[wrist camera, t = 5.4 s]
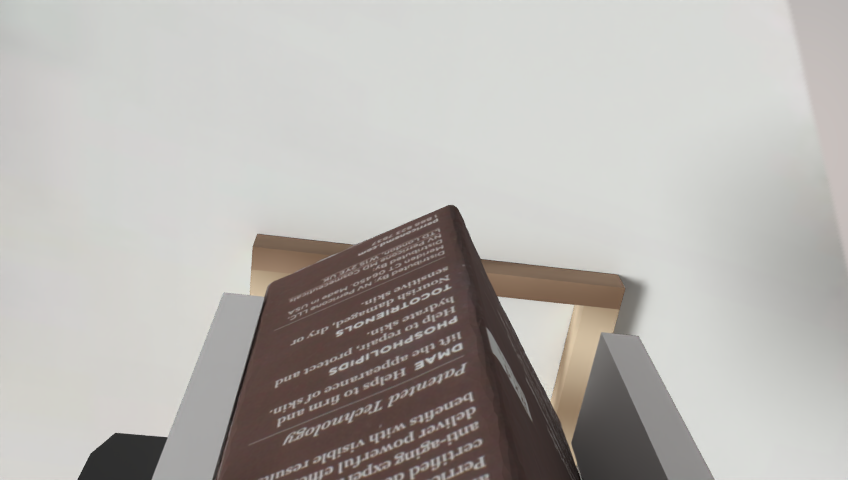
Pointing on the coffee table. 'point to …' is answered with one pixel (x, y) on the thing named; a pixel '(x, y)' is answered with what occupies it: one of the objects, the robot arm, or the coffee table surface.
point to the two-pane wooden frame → (583, 289)
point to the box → (392, 371)
